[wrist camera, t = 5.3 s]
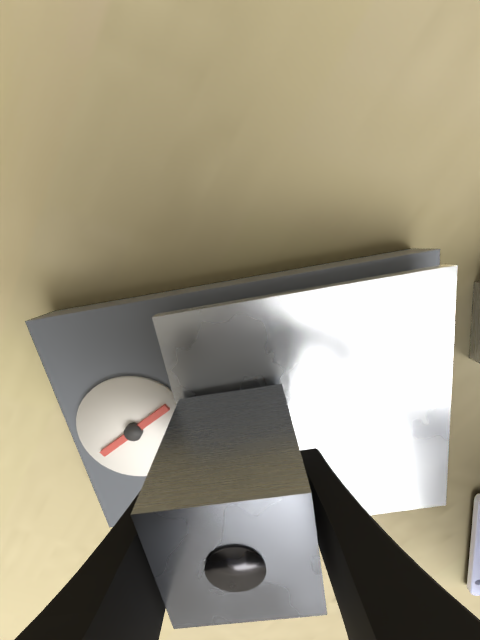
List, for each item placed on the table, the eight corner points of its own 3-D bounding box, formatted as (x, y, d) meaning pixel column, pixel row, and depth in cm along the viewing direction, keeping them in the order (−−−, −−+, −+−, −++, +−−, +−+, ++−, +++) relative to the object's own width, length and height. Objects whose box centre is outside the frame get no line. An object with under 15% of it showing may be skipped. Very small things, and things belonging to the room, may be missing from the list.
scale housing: (410, 456, 17) (439, 491, 14) (123, 496, 18) (105, 536, 15) (411, 248, 13) (449, 249, 11) (54, 311, 14) (16, 324, 12)
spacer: (294, 468, 12) (328, 618, 7) (201, 479, 12) (173, 631, 8) (282, 383, 11) (312, 495, 6) (179, 398, 11) (129, 517, 6)
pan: (413, 463, 16) (446, 505, 13) (216, 491, 16) (211, 535, 14) (413, 261, 13) (457, 265, 10) (168, 303, 13) (151, 317, 11)
